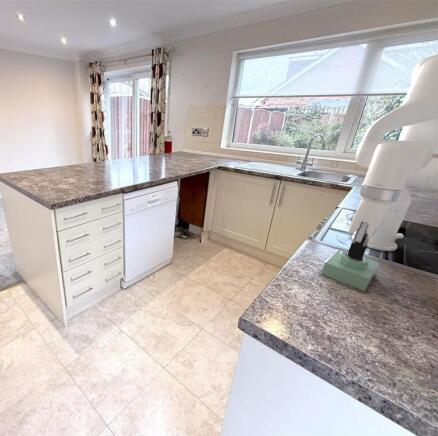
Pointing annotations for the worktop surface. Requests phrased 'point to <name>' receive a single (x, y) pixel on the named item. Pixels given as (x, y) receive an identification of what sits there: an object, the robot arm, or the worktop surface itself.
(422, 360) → the worktop surface
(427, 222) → the worktop surface
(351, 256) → the grey metal rounded piece
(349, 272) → the green stepped base
